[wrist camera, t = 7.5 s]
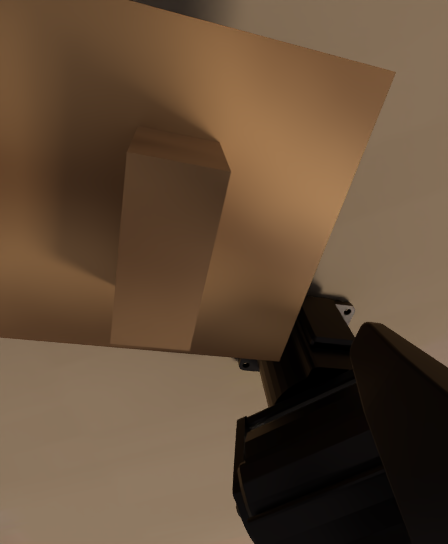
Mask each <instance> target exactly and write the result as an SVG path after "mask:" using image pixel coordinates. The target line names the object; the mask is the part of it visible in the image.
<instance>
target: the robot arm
mask: <svg viewBox="0 0 448 544" xmlns="http://www.w3.org/2000/svg"><path fill="white" fill-rule="evenodd" d="M346 309H348V310H347V311H345V310H346ZM354 313H355V308H354V307H353V305H352V304H351V303H349V302H342V301H334V300H332V299H327V298H319V297H311V296H305V299H304V301H303V304H302V306H301V309H300V311H299V314H298V316H297V319H296V321H295V324H294V326H293V328H292V331H291V333H290V336H289V338H288V341H287V343H286V346H285V348H284V351H283V353H282V356H281V358H280V361H268V360H256V359H245V358H239V360H238V364H239V367H240V369H242V370H247V371H259V372H260V375H261V379H262V383H263V387H264V391H265V395H266V399H267V403H268V408H266V409H264V410H262V411H260V412H258V413H255V414H253V415H251V416H249V417H247V416H245V417H243V418H240V419H238V420H237V428H236V443H235V457H234V472H233V497H234V499H235V501H236V509H237V513H238V515H239V516H240V517H241V519H242V521H243V524H244V526H245V528H246V530H247V532H248V534H249V536H250V538H251V539H252V541H253V542H254V544H448V367H446V366H445V365H443V364H442V363H440V362H439V361H437V360H436V359H434V358H433V357H431V356H430V355H428V354H427V353H425V352H424V351H422V350H421V349H419V348H418V347H416V346H415V345H413V344H412V343H410V342H409V341H407V340H406V339H404V338H403V337H401V336H400V335H398V334H397V333H395V332H394V331H392V330H391V329H389V328H388V327H386V326H385V325H383V324H381V323H374V322H365V323H364V324H362V326H361V327H360V329H359V331H358V333H357V335H356V337H354V335H353V333H352V332H351V330H350V328H349V327H348V325H349V323H350V321H351V319H352V317H353V315H354ZM244 363H246V364H244Z"/></svg>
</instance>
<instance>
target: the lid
mask: <svg viewBox="0 0 448 544" xmlns="http://www.w3.org/2000/svg"><path fill="white" fill-rule="evenodd" d="M395 73H396V72H393V71H390V70H386V69H382V68H378V67H375V66H371V65H367V64H364V63H360V62H356V61H352V60H349V59H345V58H341V57H338V56H334V55H330V54H326V53H323V52H319V51H315V50H312V49H308V48H304V47H300V46H297V45H293V44H289V43H286V42H282V41H278V40H274V39H271V38H267V37H263V36H260V35H256V34H252V33H249V32H245V31H241V30H237V29H234V28H230V27H226V26H223V25H219V24H215V23H211V22H208V21H204V20H200V19H197V18H193V17H189V16H185V15H182V14H178V13H174V12H171V11H167V10H163V9H159V8H156V7H152V6H148V5H145V4H141V3H137V2H134V1H130V0H0V337H1V338H13V339H24V340H36V341H48V342H59V343H71V344H82V345H94V346H106V347H117V348H129V349H140V350H152V351H163V352H175V353H187V354H198V355H210V356H221V357H233V358H245V359H256V360H268V361H280V358H281V356H282V353H283V351H284V348H285V346H286V343H287V341H288V338H289V336H290V333H291V331H292V328H293V326H294V324H295V321H296V319H297V316H298V314H299V311H300V309H301V306H302V304H303V301H304V299H305V296H306V294H307V291H308V289H309V286H310V284H311V281H312V279H313V276H314V274H315V272H316V269H317V267H318V264H319V262H320V259H321V257H322V254H323V252H324V249H325V247H326V244H327V242H328V239H329V237H330V234H331V232H332V229H333V227H334V224H335V222H336V219H337V217H338V215H339V212H340V210H341V207H342V205H343V202H344V200H345V197H346V195H347V192H348V190H349V187H350V185H351V182H352V180H353V177H354V175H355V172H356V170H357V167H358V165H359V163H360V160H361V158H362V155H363V153H364V150H365V148H366V145H367V143H368V140H369V138H370V135H371V133H372V130H373V128H374V125H375V123H376V120H377V118H378V115H379V113H380V110H381V108H382V106H383V103H384V101H385V98H386V96H387V93H388V91H389V88H390V86H391V83H392V81H393V78H394V76H395Z"/></svg>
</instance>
